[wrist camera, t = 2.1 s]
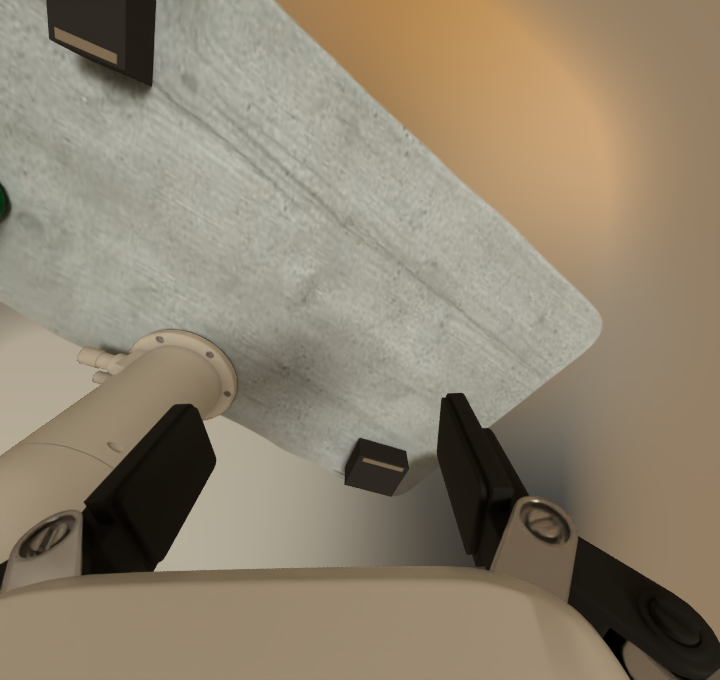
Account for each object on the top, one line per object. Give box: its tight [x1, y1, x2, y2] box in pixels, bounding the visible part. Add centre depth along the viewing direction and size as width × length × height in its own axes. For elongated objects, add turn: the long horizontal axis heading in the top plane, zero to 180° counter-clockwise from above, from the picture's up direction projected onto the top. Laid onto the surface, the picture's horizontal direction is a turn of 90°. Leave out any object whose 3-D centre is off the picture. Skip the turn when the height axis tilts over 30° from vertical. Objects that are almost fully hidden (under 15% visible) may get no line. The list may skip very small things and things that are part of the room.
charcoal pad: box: [345, 438, 409, 496], centre depth 40 cm, size 7×6×3 cm
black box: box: [46, 0, 156, 86], centre depth 20 cm, size 5×7×3 cm
